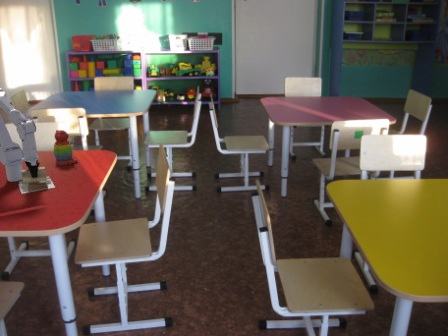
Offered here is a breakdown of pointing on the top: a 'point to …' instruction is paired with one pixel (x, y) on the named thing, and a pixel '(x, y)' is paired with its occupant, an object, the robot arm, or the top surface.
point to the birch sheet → (28, 178)
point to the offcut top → (37, 184)
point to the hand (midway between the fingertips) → (34, 176)
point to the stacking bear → (63, 149)
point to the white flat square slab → (25, 190)
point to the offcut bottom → (37, 188)
